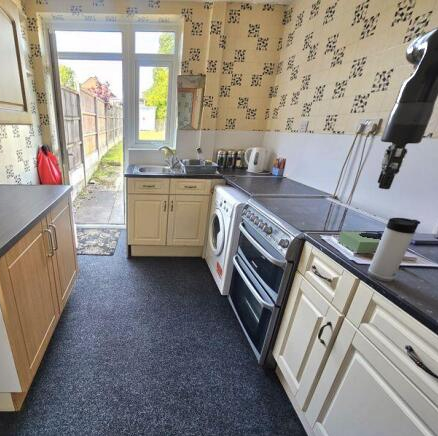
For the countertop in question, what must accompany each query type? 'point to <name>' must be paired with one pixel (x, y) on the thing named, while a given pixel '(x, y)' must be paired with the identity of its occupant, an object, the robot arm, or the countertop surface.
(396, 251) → the travel mug
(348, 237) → the riser block
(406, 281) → the countertop surface
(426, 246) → the countertop surface
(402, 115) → the robot arm
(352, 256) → the countertop surface
